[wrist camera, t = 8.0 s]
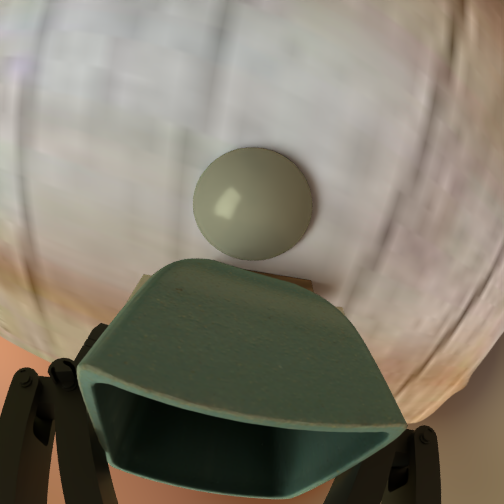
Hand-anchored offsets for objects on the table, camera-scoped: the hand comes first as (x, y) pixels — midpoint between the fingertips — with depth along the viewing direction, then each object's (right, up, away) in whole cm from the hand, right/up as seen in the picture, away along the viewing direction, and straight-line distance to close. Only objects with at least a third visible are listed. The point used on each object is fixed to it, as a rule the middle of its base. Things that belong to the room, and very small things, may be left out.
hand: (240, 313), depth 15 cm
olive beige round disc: (+1, +8, +15) cm, 17 cm away
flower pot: (0, 0, +1) cm, 1 cm away
